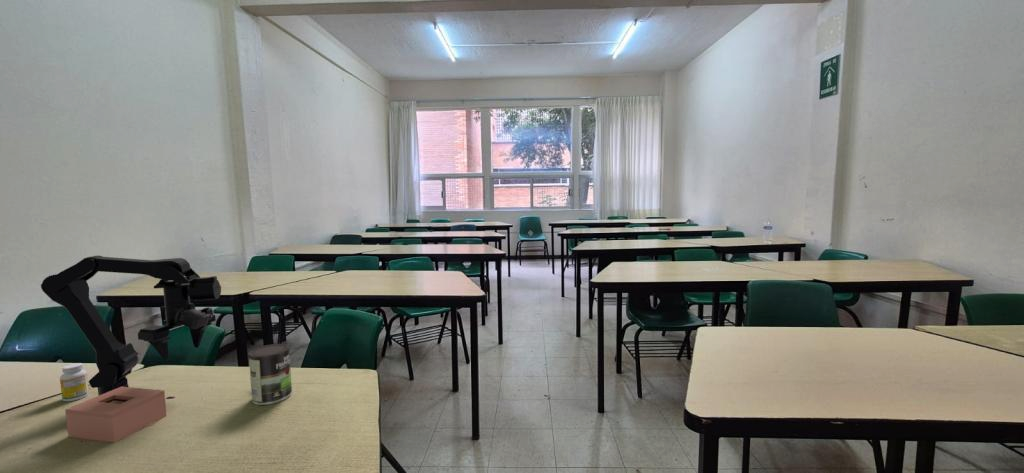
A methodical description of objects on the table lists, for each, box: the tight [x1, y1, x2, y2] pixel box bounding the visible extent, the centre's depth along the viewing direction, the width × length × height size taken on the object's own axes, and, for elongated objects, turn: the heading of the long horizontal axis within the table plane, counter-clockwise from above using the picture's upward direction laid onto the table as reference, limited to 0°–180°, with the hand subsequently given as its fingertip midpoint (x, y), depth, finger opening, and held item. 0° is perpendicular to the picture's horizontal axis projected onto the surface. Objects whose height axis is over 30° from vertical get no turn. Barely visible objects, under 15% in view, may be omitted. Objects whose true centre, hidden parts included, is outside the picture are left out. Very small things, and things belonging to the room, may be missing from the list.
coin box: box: [64, 387, 167, 443], centre depth 102 cm, size 14×12×7 cm
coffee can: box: [247, 343, 293, 406], centre depth 116 cm, size 10×10×14 cm
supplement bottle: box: [59, 362, 90, 402], centre depth 117 cm, size 5×5×10 cm
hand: (181, 353), depth 119 cm, fingers open, 9 cm apart
